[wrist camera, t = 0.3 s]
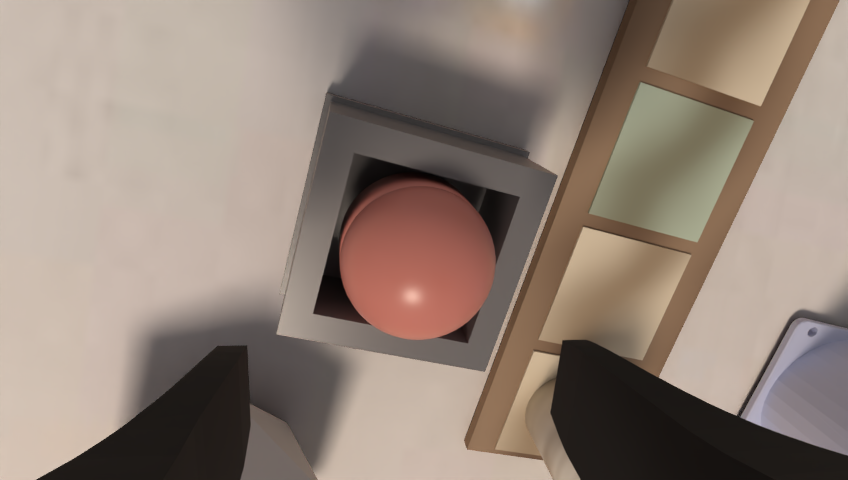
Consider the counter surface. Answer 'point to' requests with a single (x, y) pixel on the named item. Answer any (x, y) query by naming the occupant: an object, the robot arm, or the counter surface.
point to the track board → (649, 190)
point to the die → (273, 451)
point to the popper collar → (383, 156)
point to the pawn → (548, 433)
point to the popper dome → (415, 256)
